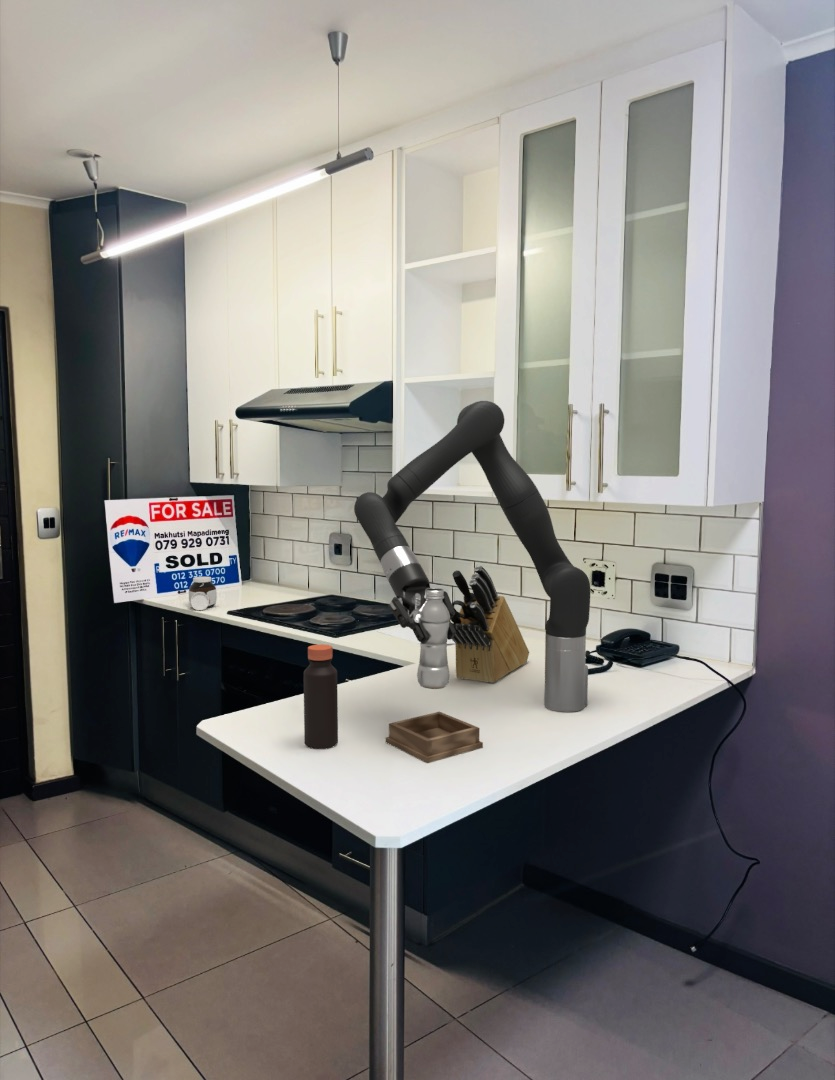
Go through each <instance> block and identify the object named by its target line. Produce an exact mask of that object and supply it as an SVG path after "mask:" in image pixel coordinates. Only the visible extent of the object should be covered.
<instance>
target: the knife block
mask: <svg viewBox="0 0 835 1080" xmlns="http://www.w3.org/2000/svg"><path fill="white" fill-rule="evenodd" d="M473 572H475V573H473V574H471V577H470V578H471V579H470V580H469V581H468V582H467V580H466V578H465V576H464V575H463V573H462V572H461V571H460V570H455V571H453V572H452V578H453V580H454V583H455V585H456V587H457V588H458V590H459V591H460V593H462V595H463V600H453V602H451V603H452V606H453V608H454V611H455V615H454V616H453V617H452V618H451V620H450V621H451V623H452V625H453V627H454V629H455V631H456V633H455V636H454V637H453V638H452V639H451V640H452V641H453V642H454V644H455V676H456V678H457V679H460V678H463V679H462V680H473V681H479V682H487V683H488V684H494V683H495V682H497V681H498V680H500V679H501V678H503V677H504V676H506V675H507V674H509V673H510V672H513V671H514V670H516V669H517V668H519V667H521V666H523V665H524V664H526V663H527V662H528V659H529V655H530V650H529V648H528V646H527V644H526V641H525V640H524V638H523V637H524V636H523V635H522V632H521V630H520V628H519V626H518V623H517V622H516V620H515V619H516V618H515V617H514V615H513V612H512V611H511V609H510V607H509V604H508V602H507V600H506V598H505V596H502V595H499V594H498V593H497V591H496V587H495V584H494V582H493V579H492V577H491V575H490V573H488V570H486V569H485V568H484V567H483V566H482V565H476V566H475V567H474V569H473ZM469 587H470V588H471V590H472V592H471V590H470V588H469ZM455 605H456V606H457V605H458V606H460V610H459V611H458V610H456V608H455Z"/></svg>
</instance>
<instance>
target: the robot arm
mask: <svg viewBox="0 0 835 1080" xmlns="http://www.w3.org/2000/svg"><path fill="white" fill-rule="evenodd" d="M504 427H505V415H504V412H503V410H502V408H501V407H500V406H499V405H498V404H496V403H494V402H492V401H488V400H479V401H475V402H473V403H470V404H469V405H467V406H465V407H464V408H462V409H461V411H460V412H459V414H458V416H457V420H456V425H455V426H454V427H453V428H452V429H451V430H450V431H449V432H447V434H446V435H444V436H443V437H442V438H441V439H440V440H439V441H438V442H436V443H434V444H433V445H432V446H430V447H429V448H427V449H426V450H424V451H423V452H422V453H421V454H419V455H417V456H416V457H415V458H413V459H412V460H411V461H409V462H408V463H407V464H406V465H405V466H403V467H402V468H401V469H400V470H398V472H396V473H395V474H394V475H392V477H391V478H389V480H388V482H387V487H386V488H387V491H386V493H385V494H384V495H383V497H382V496H381V495H380V494H378V493H376V492H371V491H370V492H369V491H368V492H364V493H362V494H360V495H359V496H358V497H357V499H356V500H355V503H354V506H353V507H354V508H353V509H354V510H353V511H354V516H355V518H356V519H357V521H358V522H359V524H360V526H361V528H362V529H363V532H365V534H366V536H367V537H368V539H369V541H370V543H371V545H372V548H373V550H374V552H375V556H376V557H377V559H378V560H379V563H380V565H381V568H382V570H383V573H384V575H385V577H386V580H387V581H388V583H389V585H390V587H391V590H392V591H393V593H394V595H395V596H393V598H392V599H391V601H390V602H389V604H388V608H389V610H390V611H391V613H392V614H393V616H394V617H395V620H396V621H397V622H398V623H399V625H400V627H401V628H402V629H405V628H409V629H411V630H412V632H413V634H414V635H415V638H416V640H417V641H418V642H420V643H421V644H425V643H426V642H427V641H428V640H429V636H428V634H427V633H426V631H425V629H424V627H423V625H422V623H419V622H420V618H419V612H420V609H421V607H422V606H423V604H424V603H425V602H426V599H425V590H426V589H427V588H431V585H430V580H429V578H428V576H427V574H426V571H424V569H423V567H422V565H421V562H420V561H419V559H418V557H417V555H416V554H415V553H414V551H413V550H412V548H411V546H410V545H409V543H408V542H407V540H406V538H405V536H404V534H403V533H402V531H401V530H400V529H399V527H398V526H397V522H398V521H399V520H400V518H401V517H402V516H403V514H404V513H405V512H406V510H407V509H408V507H409V506H410V504H412V503H413V502H414V501H416V499H418V498H419V497H420V496H421V495H422V494H423V493H424V492H426V491H427V490H428V489H429V488H430V487H431V486H433V484H435V483H436V482H437V481H438V480H439V479H440V478H441V477H442V476H444V475H445V474H446V473H447V472H448V471H449V470H451V468H453V467H454V466H455V465H456V464H458V463H459V462H461V460H463V459H464V458H466V456H468V455H469V454H471V453H472V455H473V457H474V458H475V459H476V460H477V462H478V465H480V467H481V470H482V471H483V473H484V475H485V477H486V479H487V482H488V483H489V486H490V488H491V490H492V492H493V494H494V496H495V497H496V499H497V502H498V504H499V507H500V508H501V510H502V512H503V514H504V515H505V517H506V519H507V521H508V523H509V524H510V526H511V528H512V529H513V531H514V533H515V535H516V536H517V538H518V539H519V542H521V544H522V545H523V546H524V549H525V550H526V551H527V553H528V554H529V555H528V556H530V559H531V560H532V563H533V565H534V568H535V571H536V572H537V575H538V576H539V577H538V578H539V580H540V583H541V585H542V588H543V590H544V592H545V593H546V596H548V597H549V598H550V599H549V615H548V618H547V620H546V621H545V634H544V635H545V641H544V642H545V643H544V644H545V649H544V650H545V651H544V699H543V701H544V704H543V705H544V707H545V708H547V709H549V710H552V711H556V712H562V713H564V712H567V713H569V712H571V713H572V712H578V711H582V710H584V708H585V707H587V706H588V695H589V694H588V691H589V690H588V689H589V688H588V687H589V686H588V685H589V682H588V681H589V666H588V665H587V664H586V650H587V649H586V643H587V641H586V640H587V627H588V624H589V621H590V610H591V609H590V607H591V583H590V579H589V577H588V575H587V574H586V572H585V571H583V570H582V569H580V568H579V567H577V566H575V565H573V564H572V562H571V561H570V559H569V558H568V556H567V555H566V553H565V552H564V550H563V548H562V547H561V545H560V544H559V542H558V540H557V537H556V533H555V530H554V526H553V521H552V518H551V514H550V511H549V509H548V507H547V504H546V503H545V500H544V499H543V497H542V495H541V492H540V490H539V489H538V487H537V485H536V484H535V483H534V481H533V480H532V478H531V477H530V476H529V474H528V473H527V472H526V471H525V470H524V468H523V467H521V466H520V464H518V462H517V461H516V460H515V458H514V457H513V456H512V454H510V452H509V450H508V448H507V447H506V445H505V442H504V440H503V438H502V436H501V433H502V431H503V429H504ZM443 596H444V599H442V601H443V603H444V604H445V606H446V607H447V609H448V611H449V614H450V621H449V628H448V635H447V641H451V640H452V638H453V637H454V636H455V633H456V631H455V629H454V627H453V625H452V623H453V622H452V621H451V618H452V617H453V616H454V615H455V611H454V608H455V607H454V608H453V606H452V603H453V602H451V599H450V596H449V594H448V592H447V591H445V590H444V594H443Z"/></svg>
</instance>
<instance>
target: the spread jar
mask: <svg viewBox="0 0 835 1080" xmlns="http://www.w3.org/2000/svg"><path fill="white" fill-rule="evenodd" d="M192 581H193V583H191V585H190V586H189V589H188V602H189V604H190V606H191V607H192V608H193V609H194V610H196V611H198V610H201V611H205V610H206V608H207V609H211V608H213V607H214V606H215V605H216V603H217V600H218V599H217V598H218V597H217V596H218V595H217V593H218V592H217V587H216V586H215V584H214V582H212V577H211V576H195V577H193V578H192Z"/></svg>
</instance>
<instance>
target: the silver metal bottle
mask: <svg viewBox="0 0 835 1080" xmlns="http://www.w3.org/2000/svg"><path fill="white" fill-rule="evenodd" d="M444 591H445V590H444V589H443V588H439V587H430V588H427V589H426V590H425V599H426V602H425V603H424V604H423V606H422V607H421V609H420V612H419V618H420V622H419V623H422V625H423V627H424V629H425V631H426V633H427V634H428V636H429V640H428V641H427V642H426V643H425V644H421V642H420V646H419V647H420V649H419V661H418V666H417V673H416V676H417V677H416V678H417V682H418V684H419V686H420V687H422V688H423V689H428V690H441V689H444V688H447V686H448V684H449V682H450V676H451V674H450V667H449V663H448V662H449V661H448V648H447V647H448V644H447V643H448V639H447V635H448V628H449V621H451V620H450V614H449V611H448V609H447V607H446V606H445V604H444V603H443V601H442V599H444V596H443V594H444Z"/></svg>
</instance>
